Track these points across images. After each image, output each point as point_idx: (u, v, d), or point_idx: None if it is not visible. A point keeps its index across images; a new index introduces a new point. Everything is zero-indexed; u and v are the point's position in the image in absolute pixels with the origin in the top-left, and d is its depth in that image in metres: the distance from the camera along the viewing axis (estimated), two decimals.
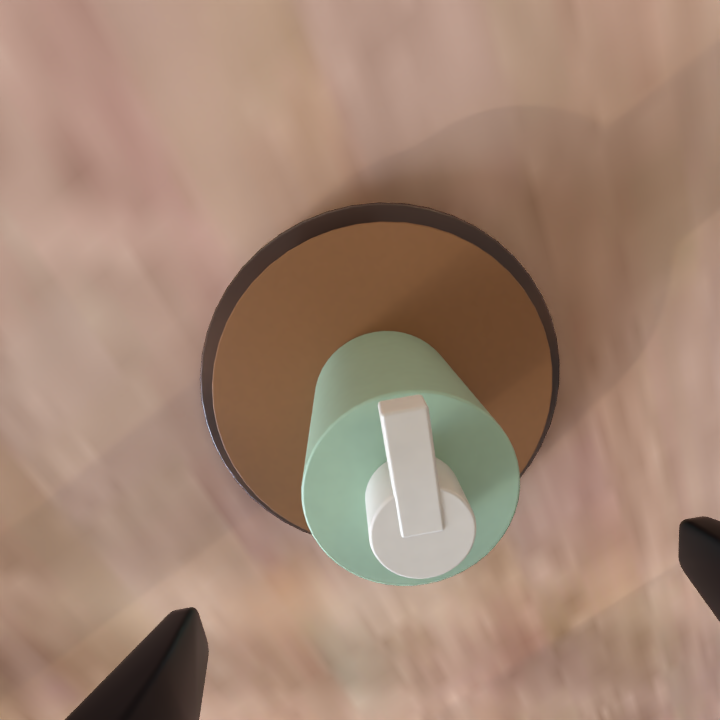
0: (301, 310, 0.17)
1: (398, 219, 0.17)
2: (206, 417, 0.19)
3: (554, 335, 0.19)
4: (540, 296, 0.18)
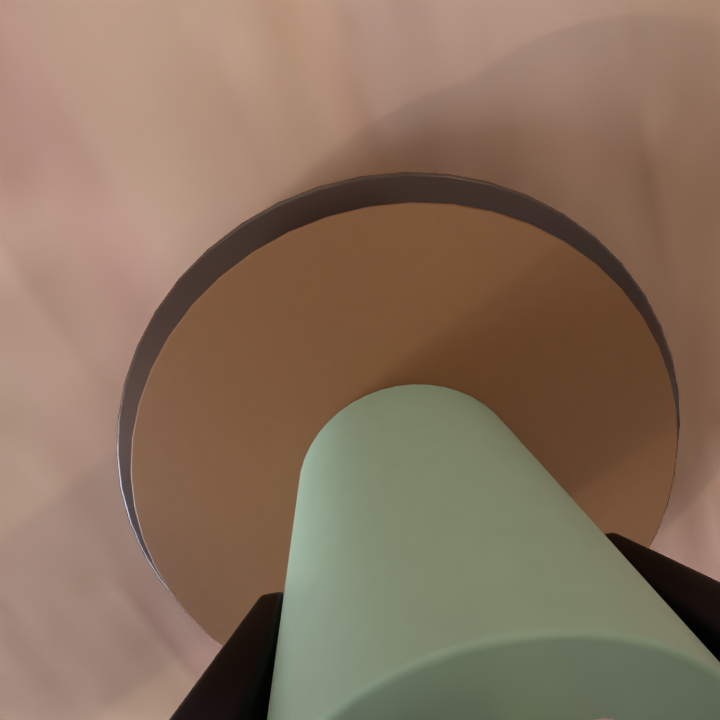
0: (276, 351, 0.10)
1: (438, 200, 0.11)
2: (128, 513, 0.12)
3: (675, 386, 0.12)
4: (658, 326, 0.12)
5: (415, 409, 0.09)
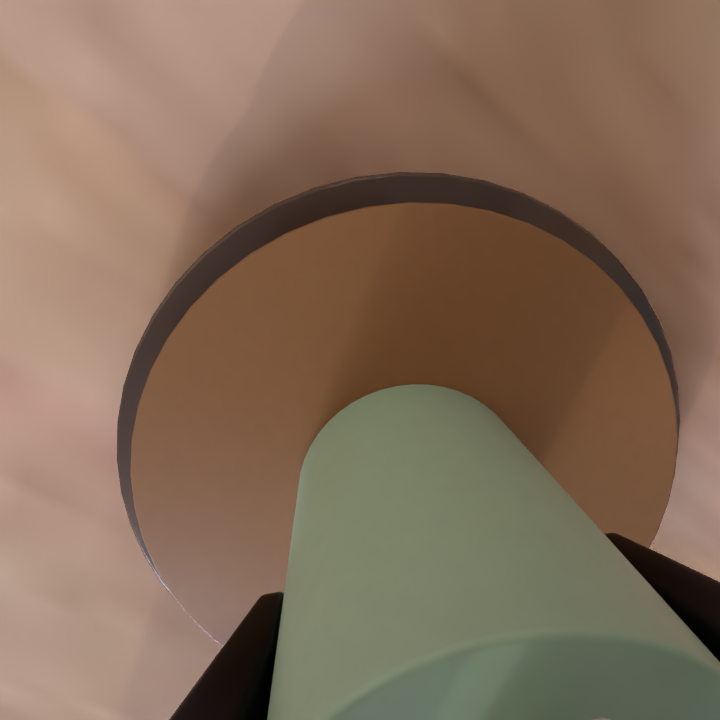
0: (275, 352, 0.10)
1: (280, 231, 0.11)
2: None
3: (613, 257, 0.11)
4: (558, 214, 0.11)
5: (414, 409, 0.09)
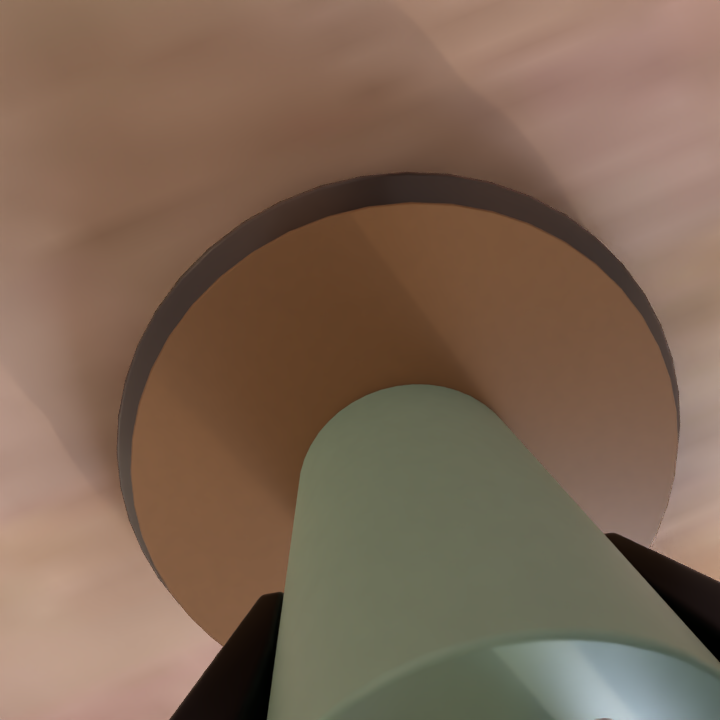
0: (276, 351, 0.10)
1: None
2: None
3: (314, 191, 0.10)
4: (243, 226, 0.10)
5: (415, 409, 0.09)
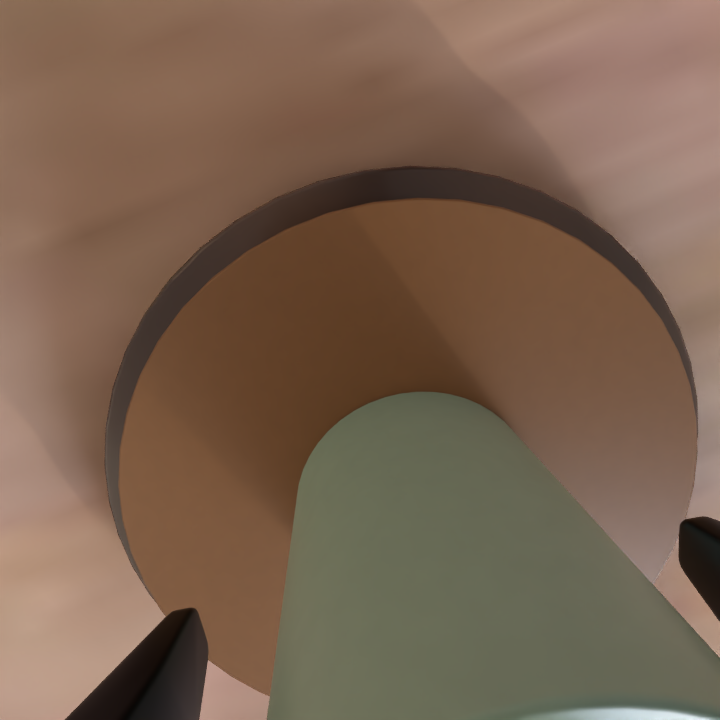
0: (272, 356, 0.10)
1: None
2: None
3: (312, 187, 0.10)
4: (236, 224, 0.10)
5: (421, 419, 0.09)
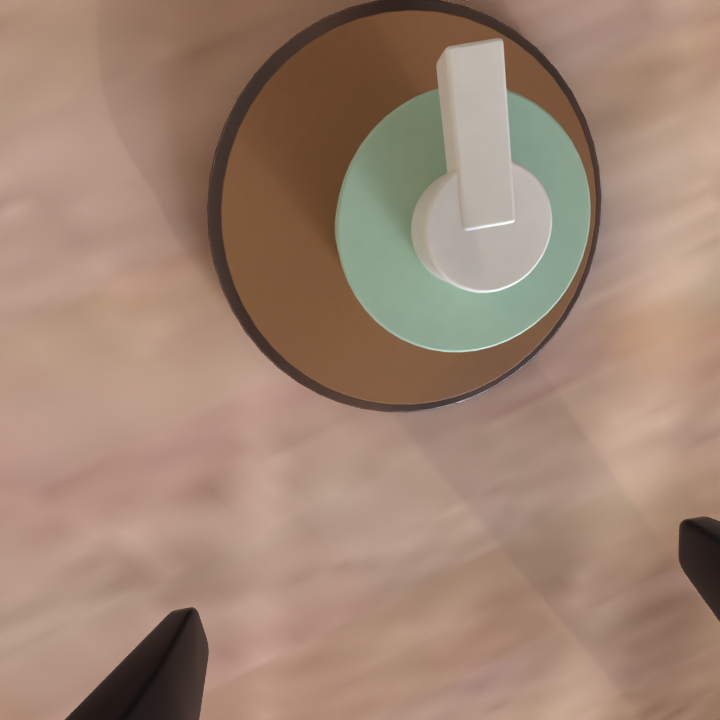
0: (321, 117, 0.16)
1: None
2: (425, 409, 0.20)
3: (346, 10, 0.16)
4: (298, 35, 0.16)
5: None
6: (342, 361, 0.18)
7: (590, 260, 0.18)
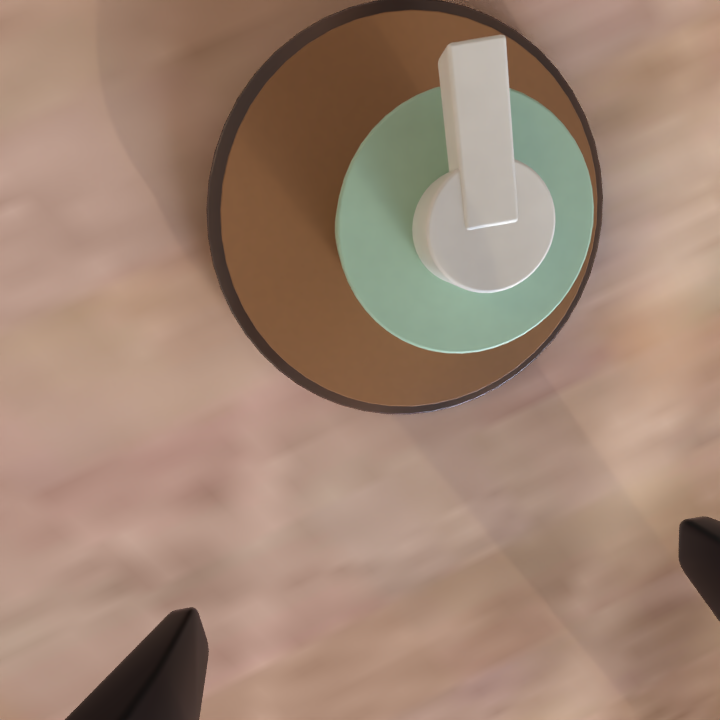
0: (321, 117, 0.15)
1: None
2: (426, 411, 0.19)
3: (346, 10, 0.15)
4: (298, 35, 0.16)
5: None
6: (342, 363, 0.18)
7: (592, 261, 0.18)
